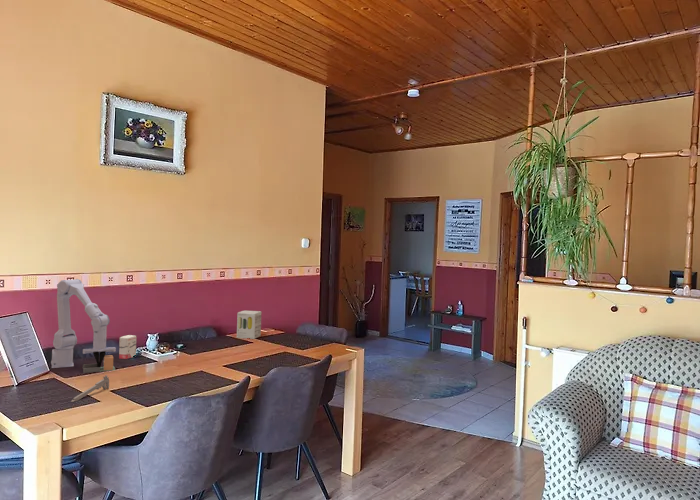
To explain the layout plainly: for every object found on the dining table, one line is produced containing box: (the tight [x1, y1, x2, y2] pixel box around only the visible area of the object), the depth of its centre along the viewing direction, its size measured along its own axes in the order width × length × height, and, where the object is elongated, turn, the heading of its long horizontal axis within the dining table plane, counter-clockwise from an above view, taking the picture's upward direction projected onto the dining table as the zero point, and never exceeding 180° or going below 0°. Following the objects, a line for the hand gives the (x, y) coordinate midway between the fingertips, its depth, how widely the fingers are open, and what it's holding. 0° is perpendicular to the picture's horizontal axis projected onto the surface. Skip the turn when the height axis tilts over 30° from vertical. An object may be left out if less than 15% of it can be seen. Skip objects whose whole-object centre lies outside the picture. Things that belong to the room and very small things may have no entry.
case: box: [82, 362, 101, 374], centre depth 244 cm, size 7×15×2 cm, turn 30°
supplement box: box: [236, 310, 263, 340], centre depth 342 cm, size 13×13×18 cm
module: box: [102, 354, 114, 371], centre depth 245 cm, size 4×6×6 cm, turn 29°
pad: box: [100, 365, 116, 372], centre depth 245 cm, size 7×9×1 cm
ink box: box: [118, 334, 137, 360], centre depth 270 cm, size 9×5×12 cm, turn 168°
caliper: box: [70, 374, 110, 403], centre depth 205 cm, size 20×1×6 cm, turn 167°
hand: (98, 367), depth 243 cm, fingers closed
